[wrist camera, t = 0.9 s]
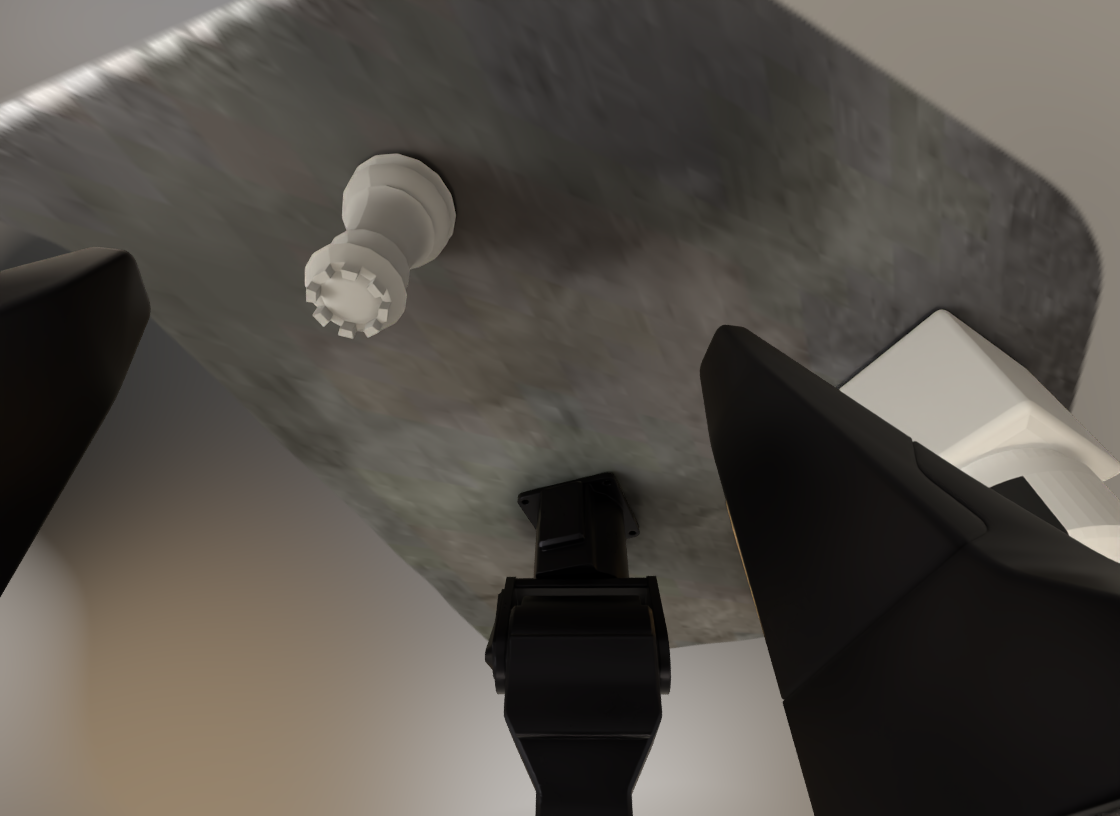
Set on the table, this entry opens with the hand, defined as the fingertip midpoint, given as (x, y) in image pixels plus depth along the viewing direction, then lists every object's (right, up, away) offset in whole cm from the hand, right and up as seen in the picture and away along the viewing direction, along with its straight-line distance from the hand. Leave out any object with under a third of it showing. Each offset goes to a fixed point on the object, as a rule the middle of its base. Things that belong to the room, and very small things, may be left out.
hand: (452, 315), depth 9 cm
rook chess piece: (-5, +7, +15) cm, 17 cm away
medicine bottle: (+21, 0, +21) cm, 29 cm away
